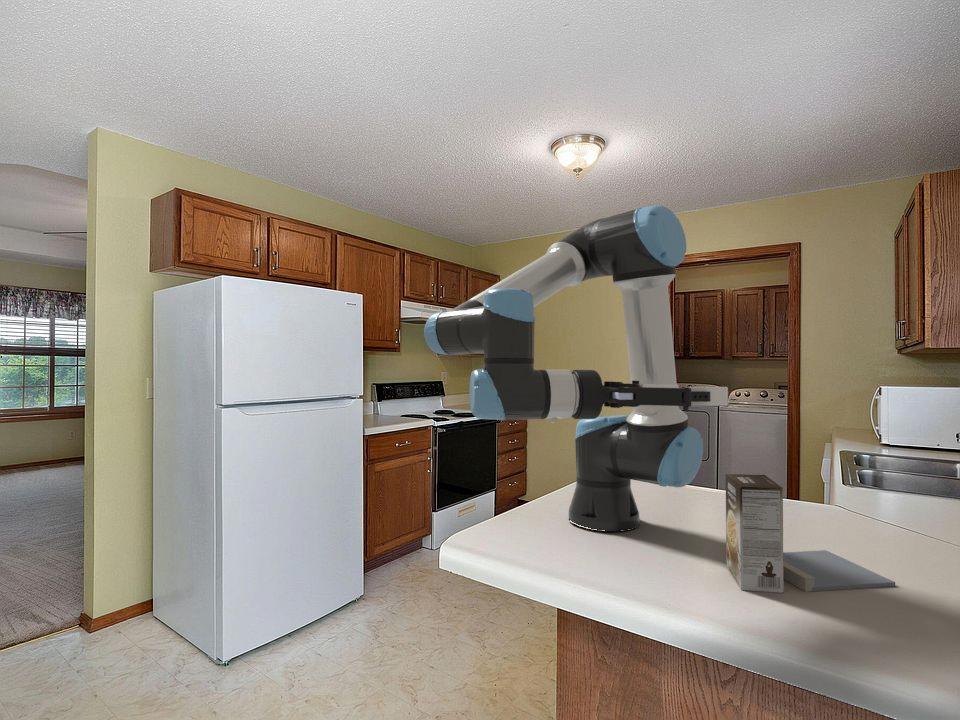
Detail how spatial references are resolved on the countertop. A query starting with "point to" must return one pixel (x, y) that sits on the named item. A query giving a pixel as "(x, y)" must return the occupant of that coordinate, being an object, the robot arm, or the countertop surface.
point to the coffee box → (754, 532)
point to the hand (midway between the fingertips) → (700, 394)
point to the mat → (828, 572)
